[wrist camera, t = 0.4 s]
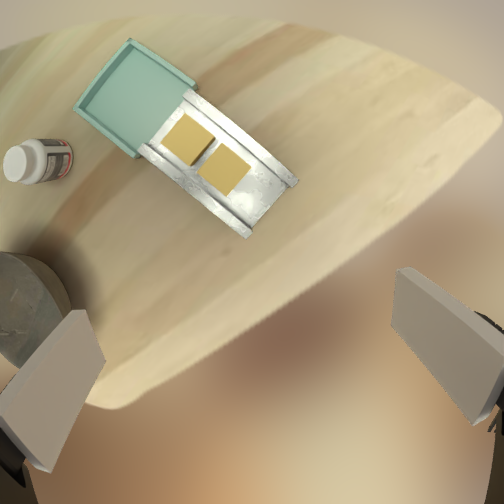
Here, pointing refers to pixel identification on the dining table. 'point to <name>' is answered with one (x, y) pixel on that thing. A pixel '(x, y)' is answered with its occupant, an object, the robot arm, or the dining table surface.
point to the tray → (133, 96)
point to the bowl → (28, 305)
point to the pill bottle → (37, 161)
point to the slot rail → (225, 131)
